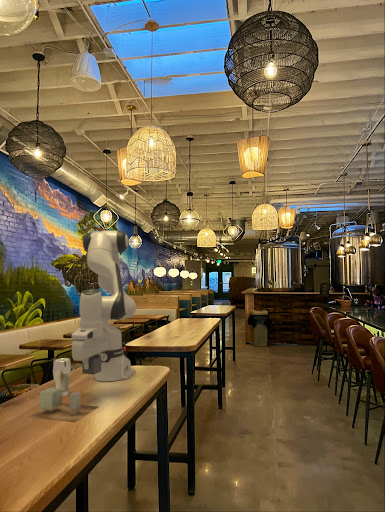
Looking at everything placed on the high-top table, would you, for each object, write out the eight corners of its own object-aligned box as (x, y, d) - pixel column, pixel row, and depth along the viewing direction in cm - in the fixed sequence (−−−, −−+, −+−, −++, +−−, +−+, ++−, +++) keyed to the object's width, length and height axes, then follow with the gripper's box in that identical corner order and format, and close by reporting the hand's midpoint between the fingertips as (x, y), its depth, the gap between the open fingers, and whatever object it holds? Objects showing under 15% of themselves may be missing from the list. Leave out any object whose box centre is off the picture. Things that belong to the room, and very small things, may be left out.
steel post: (74, 412, 130) (73, 392, 131) (80, 412, 129) (80, 392, 130) (69, 414, 128) (69, 394, 128) (75, 415, 127) (75, 394, 127)
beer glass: (65, 399, 147) (65, 361, 148) (49, 399, 149) (49, 361, 149) (74, 394, 154) (74, 358, 155) (59, 393, 155) (59, 357, 156)
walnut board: (56, 405, 141) (56, 402, 141) (99, 409, 135) (99, 406, 135) (27, 419, 127) (27, 416, 127) (74, 425, 121) (74, 422, 121)
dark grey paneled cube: (90, 369, 147) (89, 354, 147) (101, 370, 145) (101, 355, 145) (82, 373, 142) (82, 358, 142) (94, 374, 140) (93, 358, 140)
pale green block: (49, 408, 135) (49, 387, 135) (61, 409, 133) (61, 388, 134) (40, 413, 130) (40, 391, 130) (52, 414, 128) (52, 392, 129)
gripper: (98, 326, 155) (99, 359, 154) (68, 335, 135) (69, 373, 135) (112, 326, 153) (112, 360, 152) (83, 336, 133) (83, 374, 133)
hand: (91, 366), depth 143 cm, fingers closed on dark grey paneled cube, 5 cm apart
